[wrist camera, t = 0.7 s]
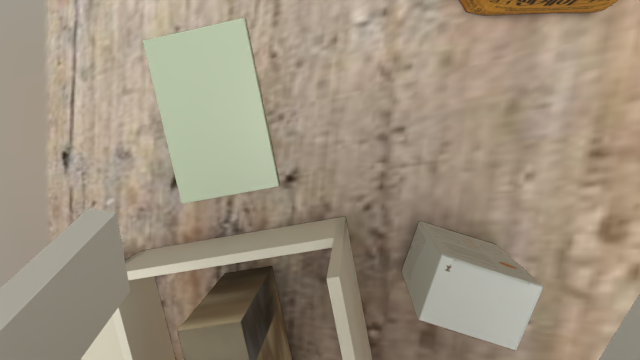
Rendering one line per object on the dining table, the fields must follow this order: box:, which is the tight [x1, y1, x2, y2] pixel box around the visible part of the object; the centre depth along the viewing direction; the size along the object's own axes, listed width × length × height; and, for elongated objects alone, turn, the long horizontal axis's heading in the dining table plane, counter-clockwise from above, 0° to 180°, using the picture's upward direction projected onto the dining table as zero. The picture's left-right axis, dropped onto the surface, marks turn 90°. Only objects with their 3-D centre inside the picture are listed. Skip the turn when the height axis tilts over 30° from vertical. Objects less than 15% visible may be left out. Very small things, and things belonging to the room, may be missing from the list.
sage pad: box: [143, 18, 280, 203], centre depth 42 cm, size 16×10×1 cm, turn 11°
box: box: [177, 266, 292, 360], centre depth 39 cm, size 12×5×12 cm, turn 11°
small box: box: [402, 221, 543, 351], centre depth 37 cm, size 8×6×10 cm
